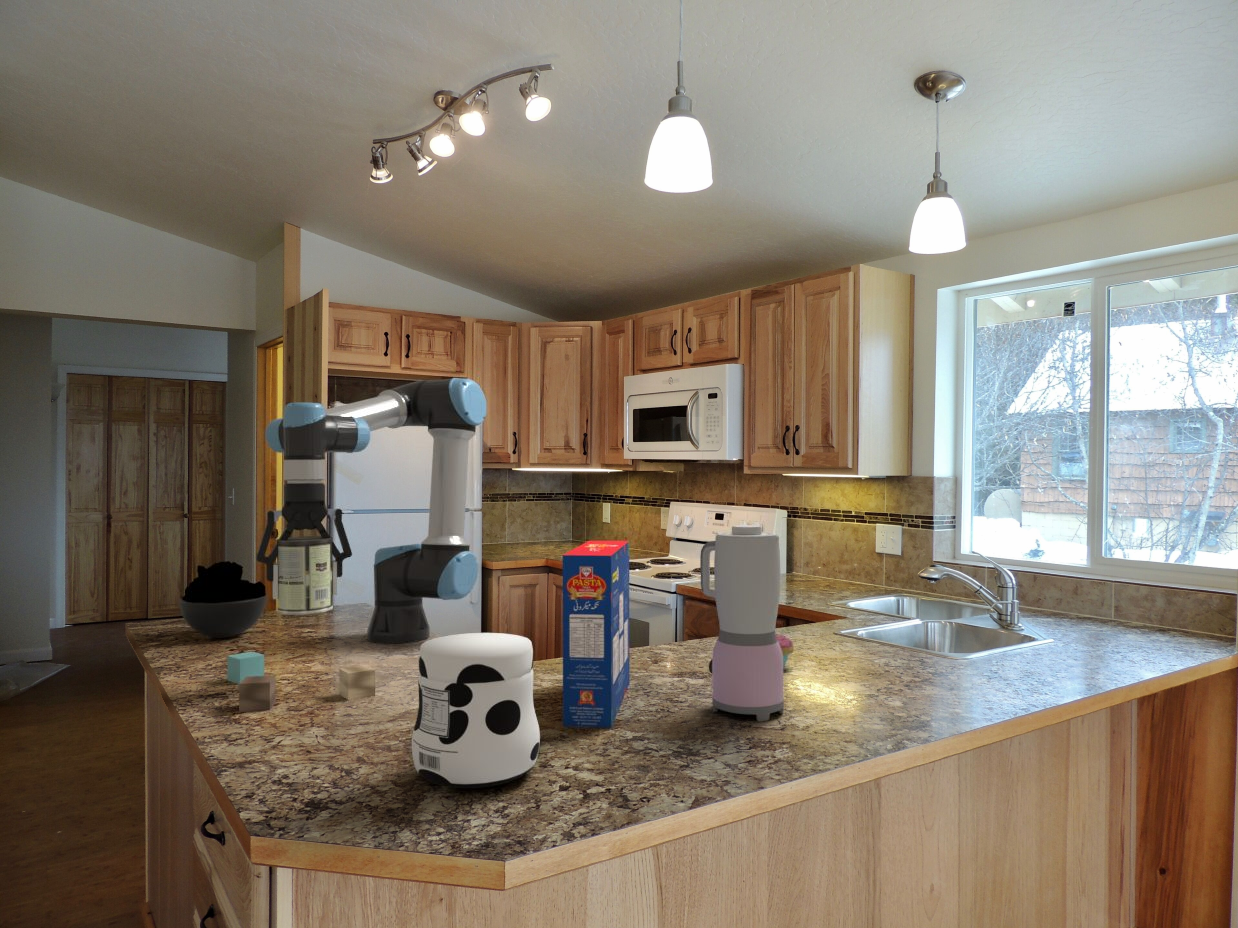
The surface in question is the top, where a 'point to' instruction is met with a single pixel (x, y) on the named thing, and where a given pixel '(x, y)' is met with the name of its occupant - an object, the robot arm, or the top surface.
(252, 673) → the teal cube
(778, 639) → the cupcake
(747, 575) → the blender
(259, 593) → the bowl of black rocks
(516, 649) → the milk container
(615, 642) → the pasta box
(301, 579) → the coffee can
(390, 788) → the top surface
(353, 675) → the oak cube
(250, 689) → the walnut cube
